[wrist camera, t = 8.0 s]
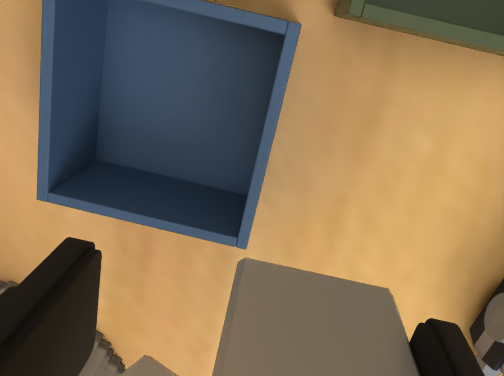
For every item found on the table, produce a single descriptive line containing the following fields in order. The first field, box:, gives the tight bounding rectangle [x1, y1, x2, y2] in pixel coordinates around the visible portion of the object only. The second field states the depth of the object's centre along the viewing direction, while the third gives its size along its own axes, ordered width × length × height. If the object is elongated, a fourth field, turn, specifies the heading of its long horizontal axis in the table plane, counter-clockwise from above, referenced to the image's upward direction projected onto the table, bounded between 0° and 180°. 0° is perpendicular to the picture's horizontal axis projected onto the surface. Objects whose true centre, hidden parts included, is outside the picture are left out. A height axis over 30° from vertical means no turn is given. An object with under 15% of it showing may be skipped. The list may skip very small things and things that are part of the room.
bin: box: [37, 0, 301, 249], centre depth 24 cm, size 12×12×7 cm
